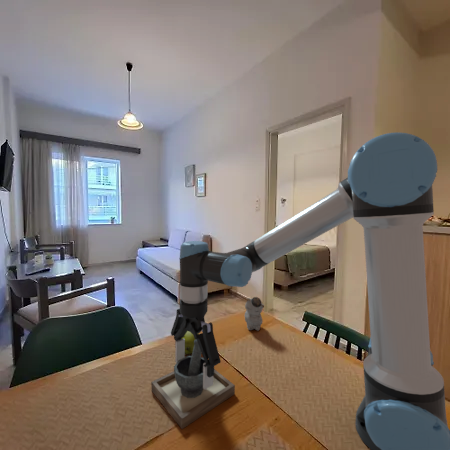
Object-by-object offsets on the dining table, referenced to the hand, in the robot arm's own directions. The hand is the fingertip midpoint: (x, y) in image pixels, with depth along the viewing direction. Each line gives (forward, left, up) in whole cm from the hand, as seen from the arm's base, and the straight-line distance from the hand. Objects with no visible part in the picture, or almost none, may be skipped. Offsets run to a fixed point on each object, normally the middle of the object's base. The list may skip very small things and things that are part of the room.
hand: (193, 373), depth 70 cm
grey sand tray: (0, 0, -6) cm, 6 cm away
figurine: (+13, -40, -6) cm, 42 cm away
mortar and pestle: (0, 0, -5) cm, 5 cm away
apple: (+17, -10, -6) cm, 21 cm away
